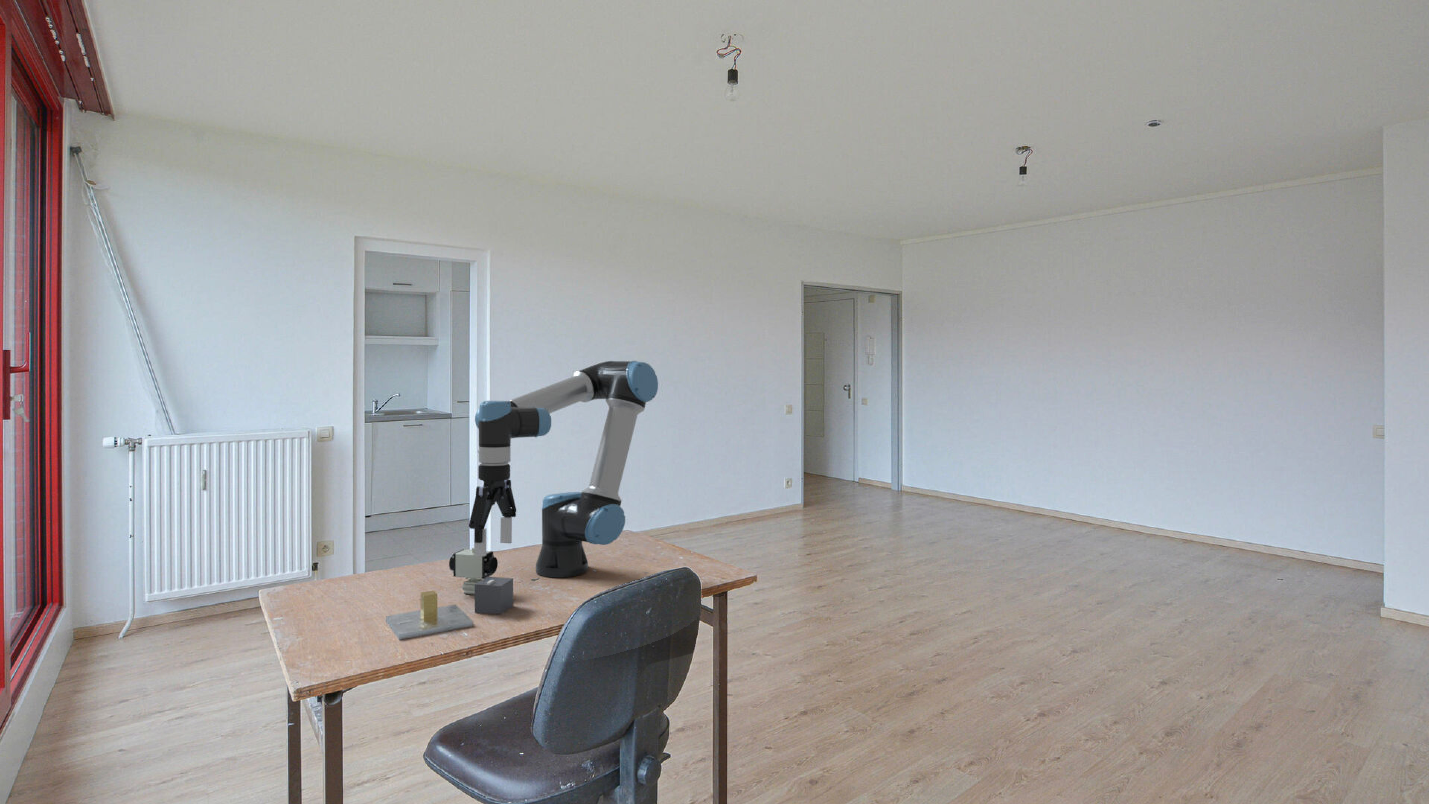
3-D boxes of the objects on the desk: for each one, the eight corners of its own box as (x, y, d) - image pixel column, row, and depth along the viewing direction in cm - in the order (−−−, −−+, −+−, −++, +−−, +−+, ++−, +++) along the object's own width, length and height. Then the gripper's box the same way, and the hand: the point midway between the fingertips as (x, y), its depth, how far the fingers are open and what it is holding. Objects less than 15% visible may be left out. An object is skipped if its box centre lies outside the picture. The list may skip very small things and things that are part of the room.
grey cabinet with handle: (487, 603, 185) (487, 574, 184) (513, 605, 183) (513, 575, 183) (474, 612, 178) (474, 581, 178) (500, 614, 177) (500, 583, 176)
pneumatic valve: (489, 597, 190) (489, 551, 189) (448, 593, 192) (448, 548, 192) (499, 591, 195) (499, 546, 195) (459, 587, 198) (459, 544, 197)
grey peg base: (455, 609, 180) (455, 580, 180) (472, 626, 169) (472, 595, 168) (385, 621, 171) (385, 590, 171) (399, 639, 160) (399, 607, 159)
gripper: (503, 457, 192) (502, 537, 193) (453, 469, 167) (453, 560, 168) (530, 458, 191) (529, 538, 192) (484, 470, 166) (483, 562, 167)
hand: (493, 549), depth 180 cm, fingers open, 13 cm apart
